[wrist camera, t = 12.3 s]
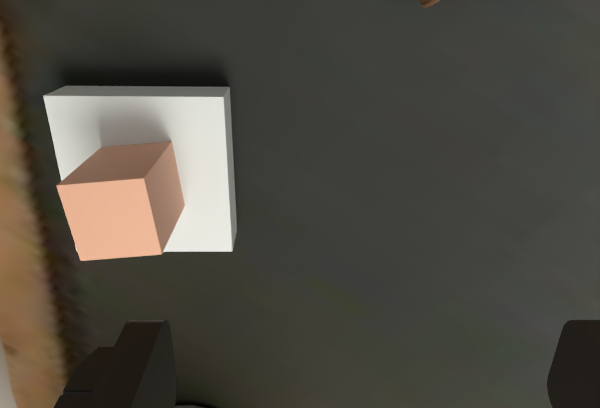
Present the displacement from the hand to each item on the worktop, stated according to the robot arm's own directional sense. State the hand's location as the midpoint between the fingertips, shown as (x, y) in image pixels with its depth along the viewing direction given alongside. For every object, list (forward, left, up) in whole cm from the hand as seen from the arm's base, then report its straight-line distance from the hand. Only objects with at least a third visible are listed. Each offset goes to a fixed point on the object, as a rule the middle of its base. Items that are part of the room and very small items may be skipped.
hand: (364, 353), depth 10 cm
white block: (+6, -12, -29) cm, 32 cm away
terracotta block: (+6, -12, -25) cm, 28 cm away
